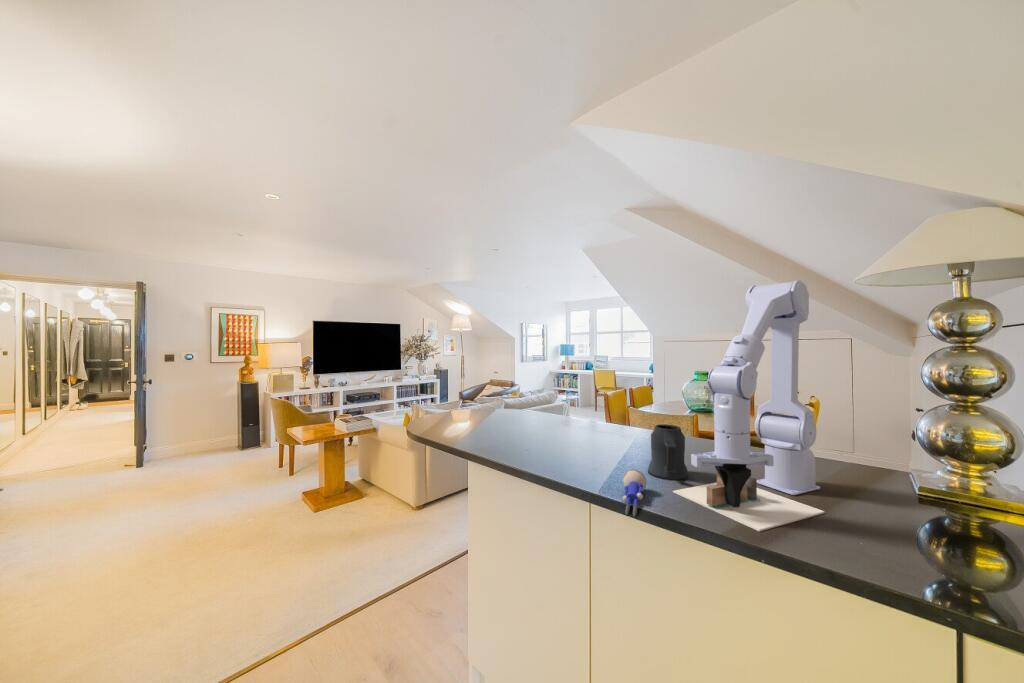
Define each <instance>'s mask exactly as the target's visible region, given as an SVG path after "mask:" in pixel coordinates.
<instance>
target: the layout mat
mask: <svg viewBox="0 0 1024 683" xmlns="http://www.w3.org/2000/svg"><path fill="white" fill-rule="evenodd" d="M714 485H717V481H716V482H713V483H712V482H711V483H707V484H701V485H697V486H692V487H691V486H690V487H685V488H680V489H676V490H672V493H674V494H676V495H678V496H680V497H682V498H685V499H687V500H688V501H691V502H694V503H696V504H698V505H700V506H702V507H704V508H706V509H709V510H711V511H713V512H715V513H717V514H720V515H722V516H724V517H726V518H729V519H730V520H732V521H735V522H737V523H740V524H741V525H744V526H747V527H749V528H751V529H753V530H755V531H757V532H762V531H766V530H769V529H772V528H777V527H780V526H783V525H787V524H791V523H794V522H798V521H801V520H805V519H808V518H812V517H815V516H818V515H822V514H825V512H826V511H825V510H822V509H819V508H816V507H813V506H811V505H808V504H804V503H801V502H798V501H795V500H793V499H790V498H788V497H784V496H782V495H779V494H776V493H773V492H770V491H767V490H765V489H763V488H762V489H761V488H759V487H757V500H748V499H746V500H741V501H740V507H732V506H730V505H729V504H727V503H726V504H721V505H716V506H710V505H708V504H707V487H708V486H714Z"/></svg>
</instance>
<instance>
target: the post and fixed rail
mask: <svg viewBox="0 0 1024 683" xmlns="http://www.w3.org/2000/svg"><path fill="white" fill-rule="evenodd" d="M757 480H758V479H756V478H754V477H752V476H750V477H749V479H748V480H747V499H748V500H757V488H758V486H757V485H758V483H757ZM716 482H717V485H719V484H723V481H722V479H721V477H720V475H719V473H718V471H717V470H716Z"/></svg>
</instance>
